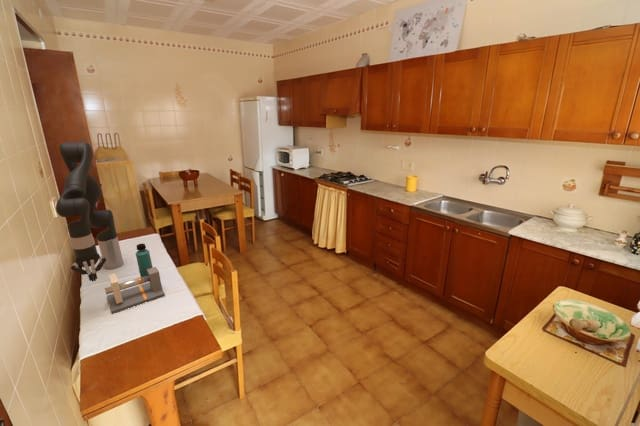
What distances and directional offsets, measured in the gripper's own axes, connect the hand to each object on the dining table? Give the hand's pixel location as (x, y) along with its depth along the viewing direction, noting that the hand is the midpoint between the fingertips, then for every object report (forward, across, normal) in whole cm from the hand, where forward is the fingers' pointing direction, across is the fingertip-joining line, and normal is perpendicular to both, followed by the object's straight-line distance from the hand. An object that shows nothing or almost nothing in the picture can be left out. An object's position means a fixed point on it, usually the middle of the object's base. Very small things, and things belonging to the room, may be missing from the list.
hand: (93, 280), depth 133 cm
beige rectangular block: (+12, -7, 0) cm, 14 cm away
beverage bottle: (+15, -22, -15) cm, 31 cm away
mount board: (+15, -13, 0) cm, 20 cm away
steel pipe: (+9, -12, 0) cm, 15 cm away
